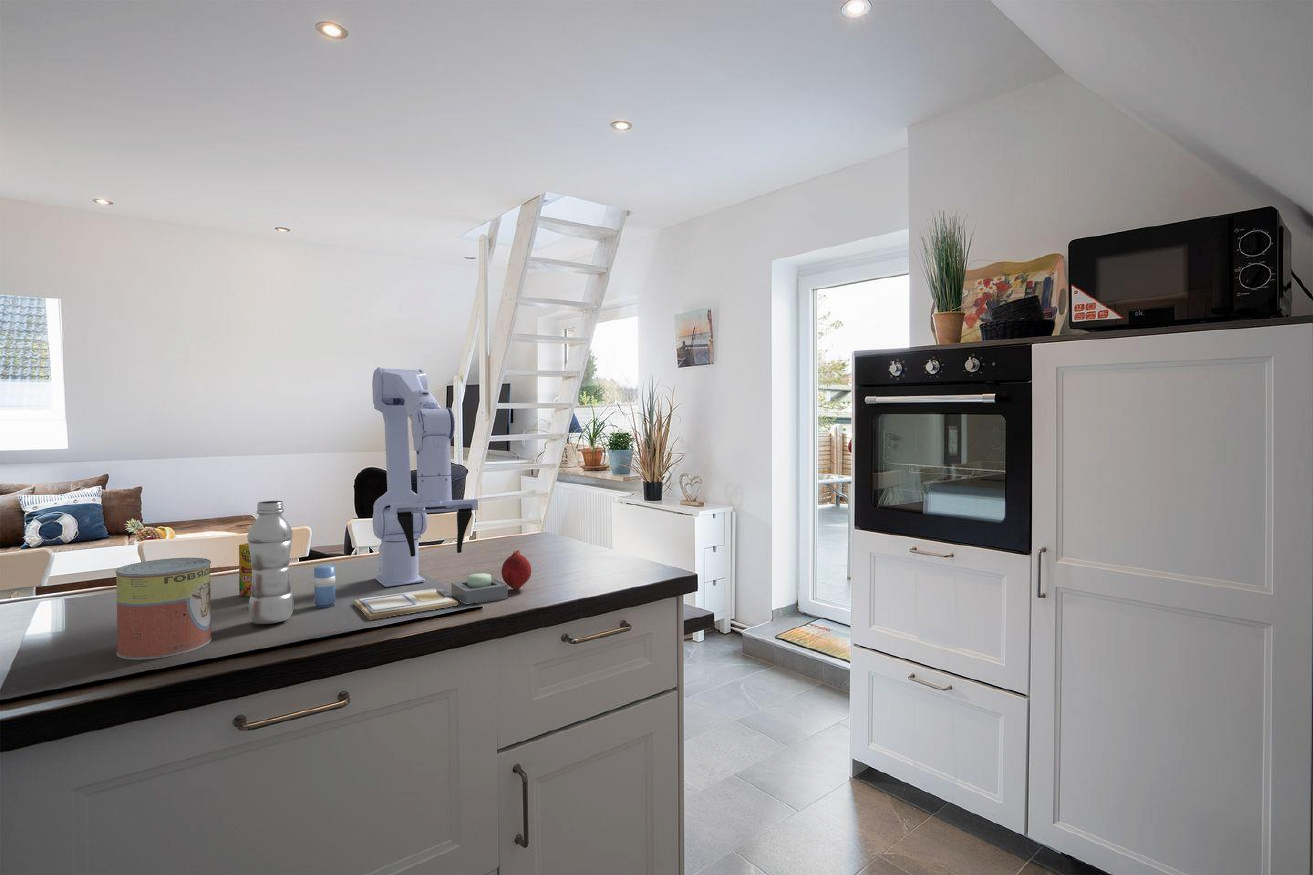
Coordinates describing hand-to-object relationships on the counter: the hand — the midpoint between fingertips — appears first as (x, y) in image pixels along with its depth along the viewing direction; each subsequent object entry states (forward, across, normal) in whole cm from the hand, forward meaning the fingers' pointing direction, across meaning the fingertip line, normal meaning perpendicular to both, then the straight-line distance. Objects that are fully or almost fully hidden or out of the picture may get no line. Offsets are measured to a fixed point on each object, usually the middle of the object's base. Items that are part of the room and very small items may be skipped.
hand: (436, 554), depth 116 cm
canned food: (+10, -38, -5) cm, 40 cm away
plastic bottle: (+10, -26, +2) cm, 28 cm away
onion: (+10, +15, +12) cm, 22 cm away
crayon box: (+8, -32, +22) cm, 39 cm away
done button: (+8, +8, +9) cm, 14 cm away
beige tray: (+10, -5, +7) cm, 13 cm away
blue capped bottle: (+9, -19, +11) cm, 24 cm away
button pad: (+10, +8, +9) cm, 15 cm away
